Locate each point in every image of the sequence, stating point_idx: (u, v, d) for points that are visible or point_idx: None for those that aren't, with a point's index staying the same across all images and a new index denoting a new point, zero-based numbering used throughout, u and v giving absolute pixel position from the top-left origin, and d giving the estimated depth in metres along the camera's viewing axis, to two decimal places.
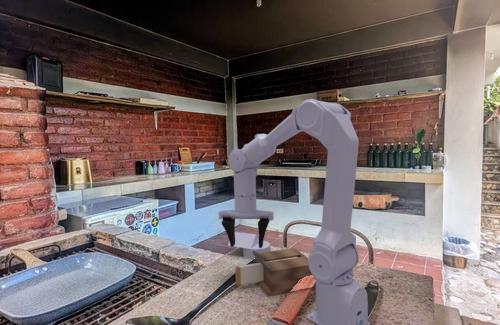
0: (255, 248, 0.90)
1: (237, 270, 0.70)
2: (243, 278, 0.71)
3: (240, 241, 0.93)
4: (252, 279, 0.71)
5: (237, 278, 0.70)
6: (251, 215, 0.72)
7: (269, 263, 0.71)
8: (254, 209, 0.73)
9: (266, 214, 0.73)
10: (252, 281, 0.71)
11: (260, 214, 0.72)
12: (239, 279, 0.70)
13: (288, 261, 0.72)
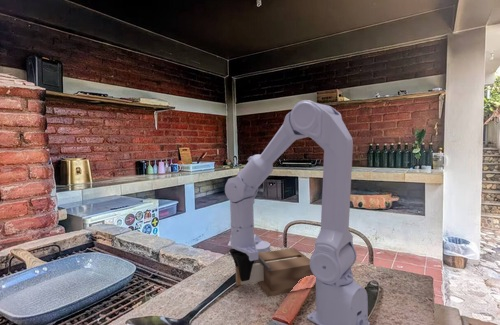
0: None
1: (237, 270, 0.70)
2: None
3: None
4: (252, 279, 0.71)
5: (237, 278, 0.70)
6: (236, 248, 0.68)
7: (269, 263, 0.71)
8: (242, 243, 0.68)
9: (247, 252, 0.65)
10: (252, 281, 0.71)
11: (242, 250, 0.66)
12: (239, 279, 0.70)
13: (288, 261, 0.72)
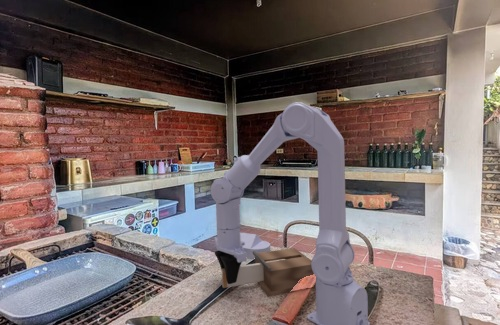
0: (255, 248, 0.90)
1: (223, 272, 0.69)
2: None
3: None
4: (239, 281, 0.70)
5: (223, 281, 0.69)
6: (223, 250, 0.67)
7: (269, 263, 0.71)
8: (229, 244, 0.67)
9: (234, 254, 0.64)
10: (239, 283, 0.70)
11: (230, 252, 0.65)
12: (225, 282, 0.69)
13: (288, 261, 0.72)
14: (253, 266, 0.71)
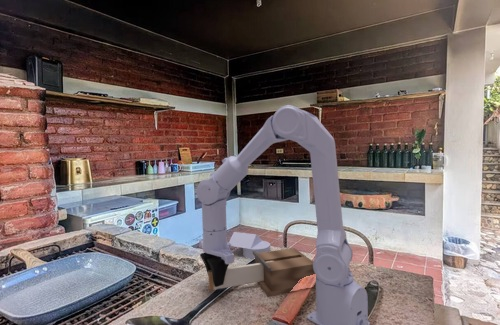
0: (255, 248, 0.90)
1: (210, 274, 0.68)
2: None
3: (240, 241, 0.93)
4: (225, 283, 0.69)
5: (209, 283, 0.68)
6: (209, 252, 0.66)
7: (269, 263, 0.71)
8: (216, 246, 0.66)
9: (222, 255, 0.63)
10: (226, 286, 0.69)
11: (217, 254, 0.64)
12: (212, 284, 0.68)
13: (288, 261, 0.72)
14: (240, 268, 0.70)
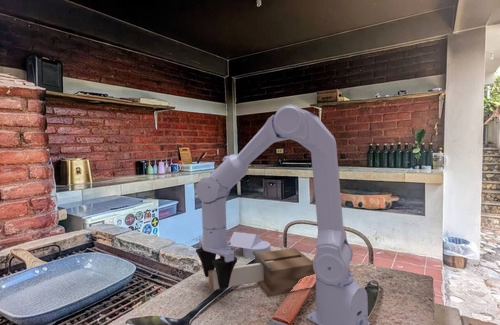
0: (255, 248, 0.90)
1: (210, 274, 0.68)
2: (216, 282, 0.69)
3: (240, 241, 0.93)
4: None
5: (209, 283, 0.68)
6: (209, 250, 0.66)
7: (269, 263, 0.71)
8: (216, 244, 0.66)
9: (222, 253, 0.63)
10: None
11: (217, 252, 0.64)
12: (212, 284, 0.68)
13: (288, 261, 0.72)
14: (240, 268, 0.70)
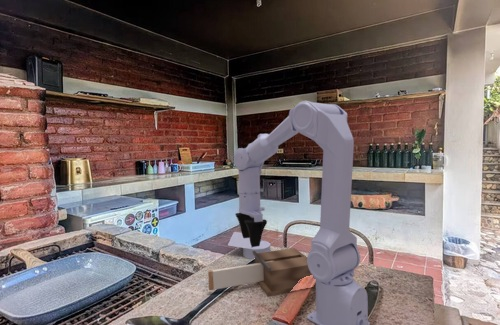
0: (255, 248, 0.90)
1: (210, 274, 0.68)
2: (216, 282, 0.69)
3: (240, 241, 0.93)
4: (226, 283, 0.69)
5: (209, 283, 0.68)
6: (243, 212, 0.75)
7: (269, 263, 0.71)
8: (249, 207, 0.75)
9: (252, 214, 0.72)
10: (226, 286, 0.69)
11: (248, 213, 0.73)
12: (212, 284, 0.68)
13: (288, 261, 0.72)
14: (240, 268, 0.70)
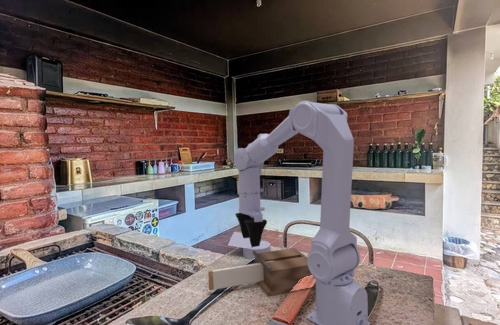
0: (255, 248, 0.90)
1: (210, 274, 0.68)
2: (216, 282, 0.69)
3: (240, 241, 0.93)
4: (226, 283, 0.69)
5: (209, 283, 0.68)
6: (243, 212, 0.75)
7: (269, 263, 0.71)
8: (249, 207, 0.75)
9: (252, 214, 0.72)
10: (226, 286, 0.69)
11: (248, 213, 0.73)
12: (212, 284, 0.68)
13: (288, 261, 0.72)
14: (240, 268, 0.70)
